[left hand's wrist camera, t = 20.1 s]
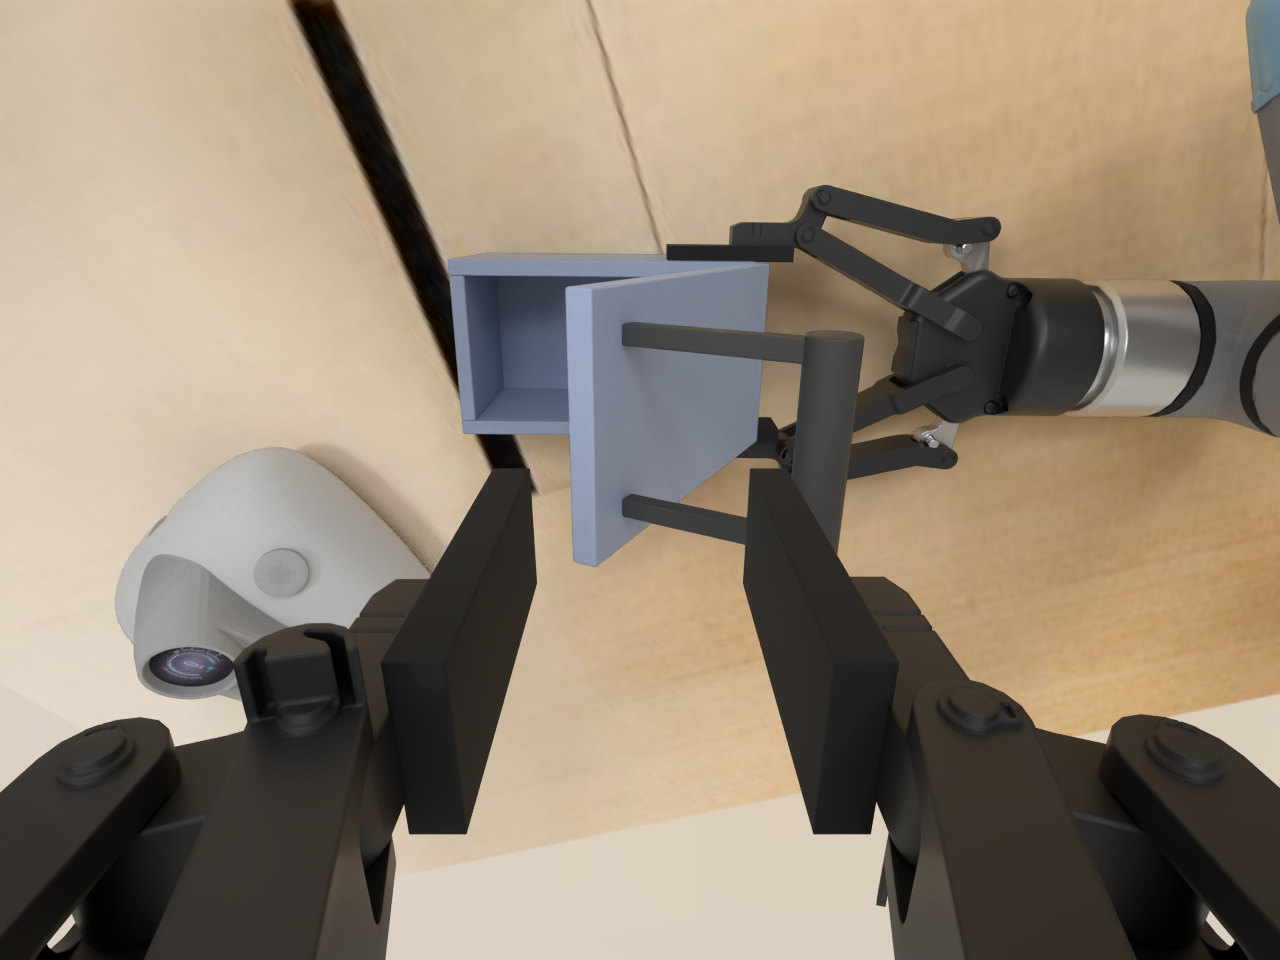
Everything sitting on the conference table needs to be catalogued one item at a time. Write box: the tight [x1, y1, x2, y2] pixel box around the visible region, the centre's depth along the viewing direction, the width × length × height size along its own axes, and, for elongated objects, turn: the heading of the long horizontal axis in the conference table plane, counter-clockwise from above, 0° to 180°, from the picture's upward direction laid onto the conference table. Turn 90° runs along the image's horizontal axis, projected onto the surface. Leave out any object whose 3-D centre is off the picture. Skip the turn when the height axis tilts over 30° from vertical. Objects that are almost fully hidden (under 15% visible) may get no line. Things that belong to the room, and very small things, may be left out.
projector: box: [115, 447, 431, 701], centre depth 43 cm, size 22×23×15 cm
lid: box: [565, 263, 864, 567], centre depth 26 cm, size 16×9×8 cm
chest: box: [448, 253, 758, 435], centre depth 39 cm, size 16×9×9 cm, turn 89°
